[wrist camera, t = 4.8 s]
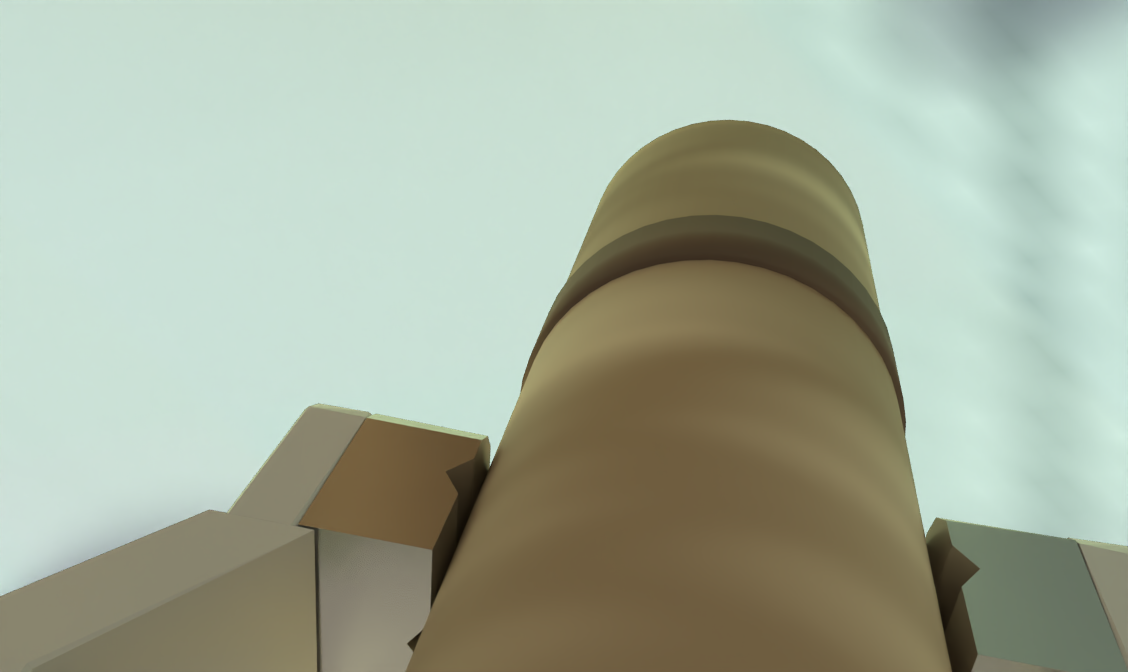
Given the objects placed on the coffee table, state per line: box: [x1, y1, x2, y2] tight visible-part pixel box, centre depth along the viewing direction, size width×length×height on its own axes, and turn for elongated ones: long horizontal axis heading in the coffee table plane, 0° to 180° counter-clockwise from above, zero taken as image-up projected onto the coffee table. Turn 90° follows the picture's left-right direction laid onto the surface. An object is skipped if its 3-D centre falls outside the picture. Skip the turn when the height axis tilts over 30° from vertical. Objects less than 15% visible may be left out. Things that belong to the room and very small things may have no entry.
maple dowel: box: [405, 120, 952, 672], centre depth 9 cm, size 4×4×12 cm
